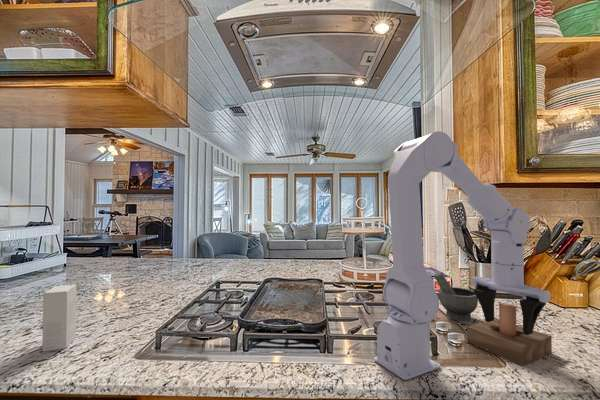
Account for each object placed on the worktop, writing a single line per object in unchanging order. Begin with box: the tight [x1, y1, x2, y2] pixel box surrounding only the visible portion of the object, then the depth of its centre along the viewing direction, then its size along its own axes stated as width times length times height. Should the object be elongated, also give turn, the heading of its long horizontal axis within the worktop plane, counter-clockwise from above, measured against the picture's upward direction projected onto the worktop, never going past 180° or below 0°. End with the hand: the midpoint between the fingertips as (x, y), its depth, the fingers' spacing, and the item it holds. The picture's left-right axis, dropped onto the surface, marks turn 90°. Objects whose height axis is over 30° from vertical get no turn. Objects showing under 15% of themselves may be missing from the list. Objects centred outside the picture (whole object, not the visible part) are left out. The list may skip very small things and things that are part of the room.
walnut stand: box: [466, 318, 553, 367], centre depth 64 cm, size 11×11×4 cm
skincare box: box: [41, 284, 78, 353], centre depth 65 cm, size 6×4×12 cm
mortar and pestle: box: [432, 271, 479, 322], centre depth 83 cm, size 11×9×12 cm
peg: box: [498, 302, 517, 337], centre depth 64 cm, size 3×3×9 cm
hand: (507, 326), depth 64 cm, fingers open, 7 cm apart
